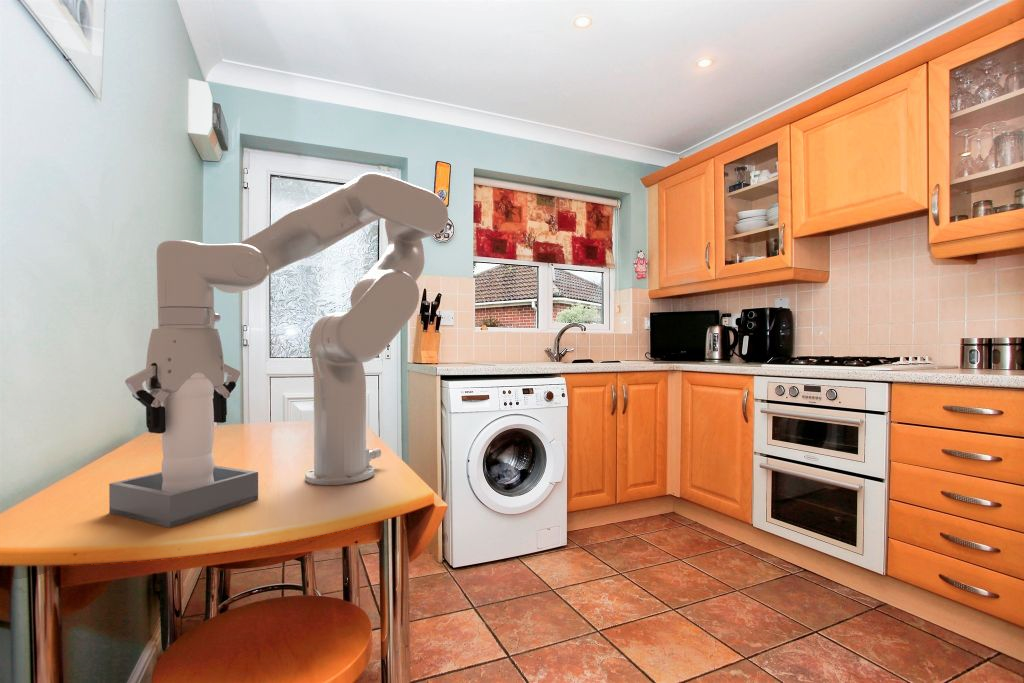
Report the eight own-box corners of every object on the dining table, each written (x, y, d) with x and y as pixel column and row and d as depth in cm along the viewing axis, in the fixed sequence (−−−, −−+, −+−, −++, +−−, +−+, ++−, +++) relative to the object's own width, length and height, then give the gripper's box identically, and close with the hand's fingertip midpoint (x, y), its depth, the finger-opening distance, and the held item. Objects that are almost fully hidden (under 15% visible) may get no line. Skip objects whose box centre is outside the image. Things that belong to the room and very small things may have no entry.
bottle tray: (200, 488, 89) (199, 463, 89) (258, 499, 83) (258, 472, 83) (109, 512, 76) (109, 483, 76) (169, 527, 70) (169, 495, 70)
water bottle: (223, 497, 81) (222, 343, 81) (176, 510, 75) (175, 343, 75) (199, 491, 84) (199, 343, 85) (152, 503, 78) (152, 343, 79)
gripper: (222, 321, 89) (224, 417, 89) (111, 319, 73) (113, 435, 73) (251, 320, 86) (253, 420, 86) (141, 317, 70) (144, 439, 70)
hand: (189, 427), depth 80 cm, fingers open, 9 cm apart
